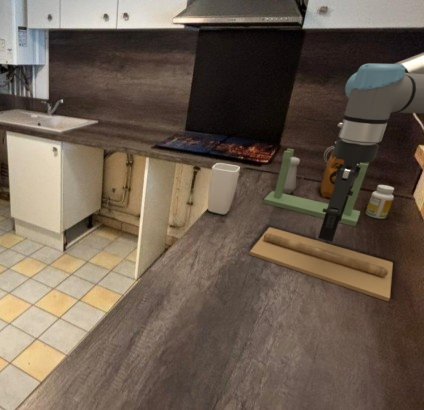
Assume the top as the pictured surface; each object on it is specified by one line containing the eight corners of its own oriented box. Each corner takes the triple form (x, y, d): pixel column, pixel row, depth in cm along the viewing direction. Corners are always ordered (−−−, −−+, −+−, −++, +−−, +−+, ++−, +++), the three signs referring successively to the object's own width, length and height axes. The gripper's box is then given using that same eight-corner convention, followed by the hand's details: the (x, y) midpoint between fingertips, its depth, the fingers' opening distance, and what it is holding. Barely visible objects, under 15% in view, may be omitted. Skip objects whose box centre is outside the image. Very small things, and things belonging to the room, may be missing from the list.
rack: (358, 215, 113) (378, 161, 106) (355, 226, 106) (376, 168, 99) (271, 195, 128) (283, 145, 121) (263, 203, 121) (275, 151, 114)
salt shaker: (277, 187, 135) (285, 154, 130) (294, 190, 133) (303, 157, 127) (275, 192, 131) (284, 158, 125) (293, 195, 128) (302, 161, 123)
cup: (203, 212, 114) (210, 167, 108) (209, 204, 119) (217, 162, 113) (226, 218, 110) (235, 172, 104) (232, 210, 116) (241, 166, 110)
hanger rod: (386, 273, 81) (390, 267, 80) (385, 280, 80) (388, 273, 79) (264, 236, 97) (265, 230, 95) (262, 241, 95) (262, 235, 94)
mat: (391, 265, 87) (392, 262, 86) (388, 302, 74) (390, 298, 74) (268, 230, 103) (269, 227, 103) (248, 254, 91) (249, 251, 90)
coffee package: (314, 196, 128) (333, 135, 119) (319, 186, 137) (336, 129, 128) (348, 203, 123) (369, 140, 114) (350, 193, 132) (371, 133, 123)
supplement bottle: (384, 214, 115) (395, 186, 111) (387, 220, 110) (398, 191, 107) (364, 210, 117) (374, 182, 113) (365, 216, 113) (376, 187, 109)
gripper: (344, 129, 88) (321, 208, 96) (328, 149, 70) (301, 243, 79) (383, 133, 83) (354, 216, 92) (375, 156, 66) (341, 255, 74)
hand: (329, 228), depth 85 cm, fingers open, 13 cm apart
